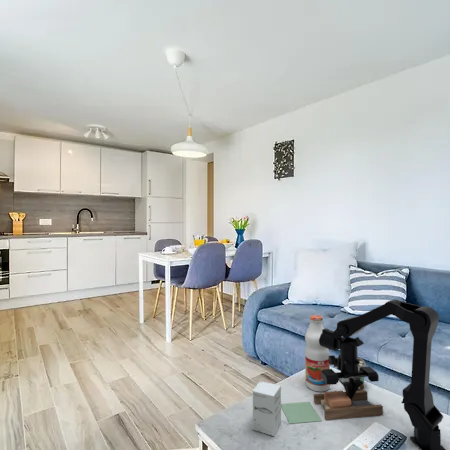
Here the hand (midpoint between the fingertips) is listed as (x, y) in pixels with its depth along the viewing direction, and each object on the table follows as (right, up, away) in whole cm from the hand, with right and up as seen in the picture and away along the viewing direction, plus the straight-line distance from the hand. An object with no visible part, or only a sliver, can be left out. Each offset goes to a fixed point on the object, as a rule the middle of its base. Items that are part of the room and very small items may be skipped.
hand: (349, 399), depth 107 cm
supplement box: (-30, -4, -9) cm, 32 cm away
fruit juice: (-7, -4, +15) cm, 17 cm away
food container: (+9, -3, +15) cm, 18 cm away
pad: (-18, -3, -2) cm, 18 cm away
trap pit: (+5, -3, 0) cm, 6 cm away
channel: (-1, -3, 0) cm, 3 cm away
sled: (-5, -3, -1) cm, 6 cm away
